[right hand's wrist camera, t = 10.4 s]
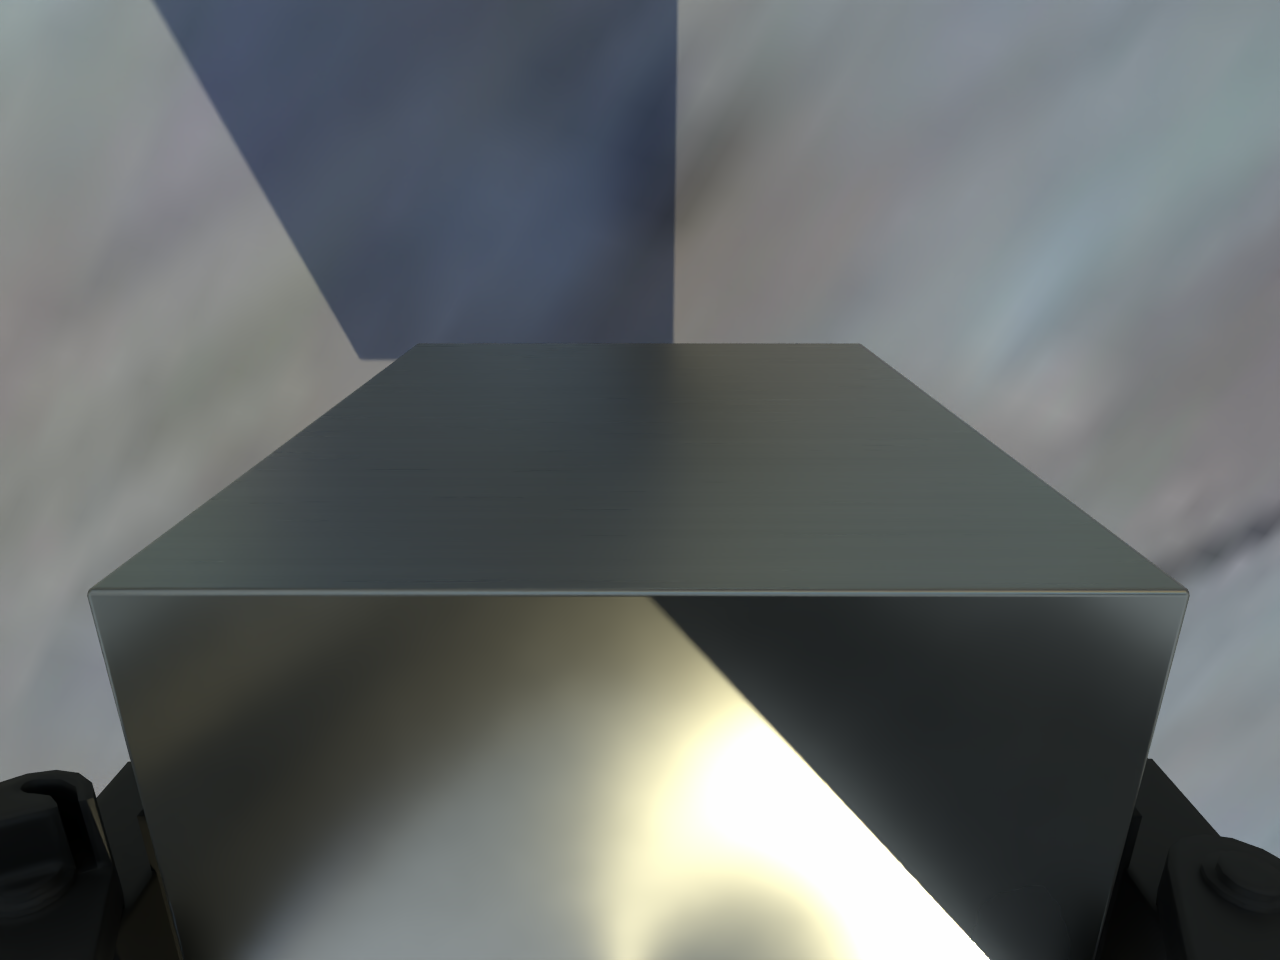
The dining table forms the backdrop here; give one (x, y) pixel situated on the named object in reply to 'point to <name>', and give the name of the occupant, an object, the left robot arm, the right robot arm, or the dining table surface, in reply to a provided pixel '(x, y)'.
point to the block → (638, 673)
